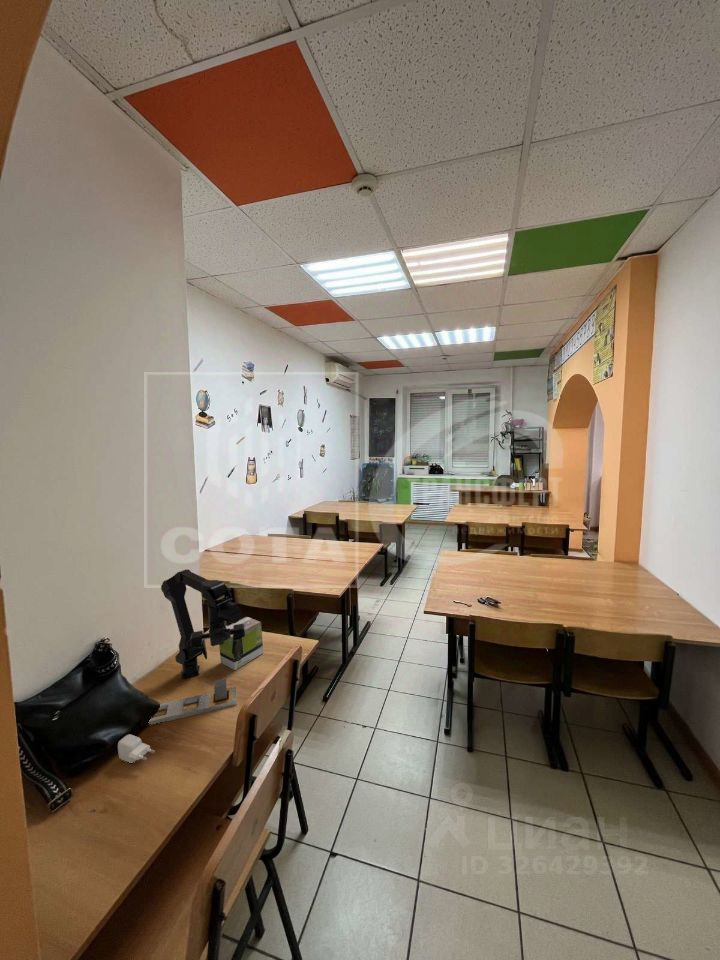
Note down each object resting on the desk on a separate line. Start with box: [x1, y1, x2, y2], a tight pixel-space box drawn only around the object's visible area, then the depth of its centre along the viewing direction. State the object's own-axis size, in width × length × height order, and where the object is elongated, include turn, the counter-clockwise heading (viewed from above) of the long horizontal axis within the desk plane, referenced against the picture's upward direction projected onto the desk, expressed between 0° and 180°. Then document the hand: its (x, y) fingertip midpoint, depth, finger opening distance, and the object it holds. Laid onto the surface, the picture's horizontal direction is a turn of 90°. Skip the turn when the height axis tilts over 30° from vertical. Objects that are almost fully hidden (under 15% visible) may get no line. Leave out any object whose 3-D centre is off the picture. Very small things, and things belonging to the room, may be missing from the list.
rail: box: [148, 686, 237, 725], centre depth 132 cm, size 8×30×2 cm, turn 109°
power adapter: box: [117, 733, 155, 764], centre depth 110 cm, size 11×5×6 cm, turn 68°
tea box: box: [218, 616, 264, 671], centre depth 160 cm, size 15×10×15 cm
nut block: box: [213, 678, 228, 703], centre depth 135 cm, size 4×4×7 cm
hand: (219, 656), depth 141 cm, fingers open, 9 cm apart
